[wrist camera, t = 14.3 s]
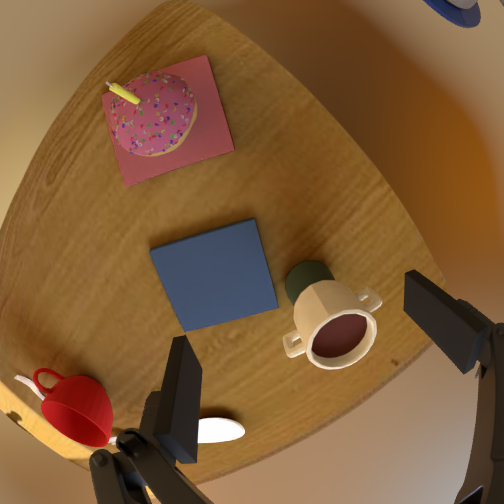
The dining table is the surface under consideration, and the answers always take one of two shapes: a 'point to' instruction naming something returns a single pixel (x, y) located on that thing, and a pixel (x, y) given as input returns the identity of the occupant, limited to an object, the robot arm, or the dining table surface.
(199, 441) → the spoon
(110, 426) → the ceramic cup
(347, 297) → the character mug
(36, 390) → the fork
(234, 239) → the blue mat
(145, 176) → the rose mat
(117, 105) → the cupcake
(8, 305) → the dining table surface
